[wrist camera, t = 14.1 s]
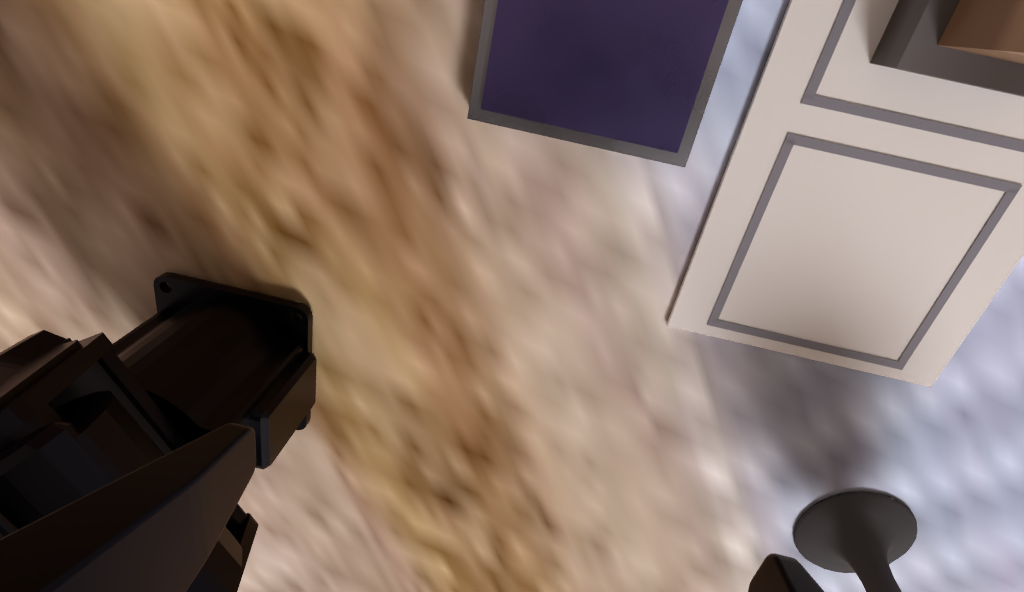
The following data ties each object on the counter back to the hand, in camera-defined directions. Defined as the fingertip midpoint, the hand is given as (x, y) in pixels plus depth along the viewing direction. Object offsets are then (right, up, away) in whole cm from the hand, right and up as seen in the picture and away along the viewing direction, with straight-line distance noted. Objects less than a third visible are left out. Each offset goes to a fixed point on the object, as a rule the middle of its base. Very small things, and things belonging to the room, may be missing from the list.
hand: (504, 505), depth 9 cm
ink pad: (+3, +12, +7) cm, 14 cm away
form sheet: (+12, +8, +8) cm, 17 cm away
